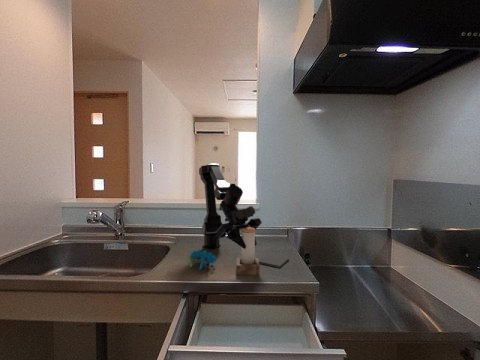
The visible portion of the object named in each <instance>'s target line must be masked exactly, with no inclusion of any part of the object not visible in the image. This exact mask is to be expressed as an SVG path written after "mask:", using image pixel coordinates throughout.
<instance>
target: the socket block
mask: <svg viewBox="0 0 480 360" xmlns="http://www.w3.org/2000/svg"><path fill="white" fill-rule="evenodd" d="M235 268H236V274H235V275H236V276H260V264H259V258H258V257H255V262H254V265H250V264H241V257H236V267H235Z"/></svg>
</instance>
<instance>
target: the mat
mask: <svg viewBox="0 0 480 360" xmlns="http://www.w3.org/2000/svg"><path fill="white" fill-rule="evenodd" d="M289 259H290V258H289V257H284V256H280V255H274V254H269V253H266V254H265V255H263V256H261V257H260V258H258V260H259V265H265V266H268V267H269V266H270V267H273V268H279V269H280V268H281V267H283V266H284V265H285V264H287V262H289Z"/></svg>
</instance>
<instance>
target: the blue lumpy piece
mask: <svg viewBox="0 0 480 360" xmlns="http://www.w3.org/2000/svg"><path fill="white" fill-rule="evenodd" d="M188 260H189V262H190V264H189V269H191V268H192V266H193V264H194V263H195V264H196V263H197V264H199V263H200V265H199V271H201V270H203V267H204V263H206V264H207V265H210V264H214V263H215V262H217V255H215V254H213V252H207V250H202V251H201V250H200V249H197V250H192V252H191V253H190V254H189V255H188Z"/></svg>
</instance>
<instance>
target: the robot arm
mask: <svg viewBox="0 0 480 360" xmlns="http://www.w3.org/2000/svg"><path fill="white" fill-rule="evenodd" d="M198 174H199V176H200V180H201V182H202V183H203V185H204V194H205V195H204V196H205V205H206V215H205V217H204V219H203V224H202V227H201V234H202V235H203V236H204V237H203V239H204V241H203V242H204V244H203V245H202V248H206V249H211V250H214V249H217V248H219V247H221V244H220V239H222V238H226V239H228V240H230V241H232V242H234V243H235V244H237V245H238V246H240V248H241V247H242V248H244V249H245V248H246V245H245V243H244V241H243V239H242V237H241V234H240V230H241V229H242V228H243V227H252V228H255V231H256V230H257V229H258V228H259V227H260V226H261V225H262V220H261V219H260V218H259V217H254V215H255V214H256V209H255V208H254V206H253V205H252V206H251V205H250V206H248V207H246V208H241V209H239V208H238V206H237V205H238V204H239V202H240V200H241V198H242V196H243V193H244V191H243V189H242V188H241V187H240V186H238V185H236V183H229V182H227V181H226V180H225V177H224V175H223V173H222V171H221V169H220V164H219V163H209V164H206V165H201V166H200V167H199V168H198ZM216 200H217V201H221V202H220V203H219V209H218V210H219V211H222V212H223V215H224V217H225V219H224V221H225V223H223V222H222V217H221V214H219V213H218V212H217V201H216ZM251 217H254V218H251ZM249 218H250V219H249ZM226 222H227V223H226ZM257 245H258V243H257V239H256V236H255V246H257Z"/></svg>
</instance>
